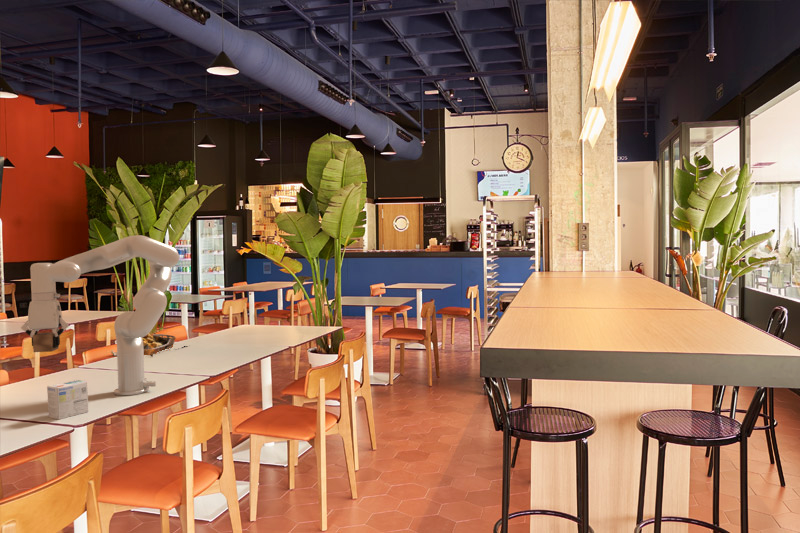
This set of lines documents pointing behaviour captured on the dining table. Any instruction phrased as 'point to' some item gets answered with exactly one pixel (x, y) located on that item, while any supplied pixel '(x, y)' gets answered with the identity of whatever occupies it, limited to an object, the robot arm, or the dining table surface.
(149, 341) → the food tray
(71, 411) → the light bulb box
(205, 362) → the dining table surface
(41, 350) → the walnut cube
